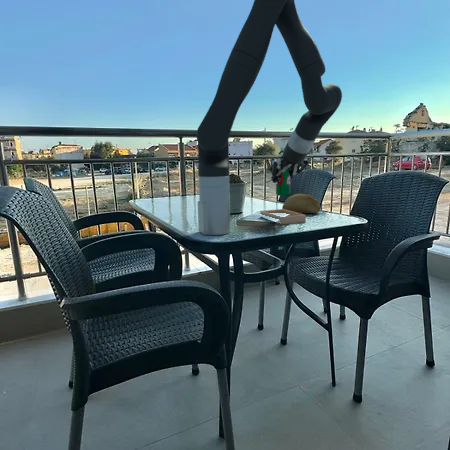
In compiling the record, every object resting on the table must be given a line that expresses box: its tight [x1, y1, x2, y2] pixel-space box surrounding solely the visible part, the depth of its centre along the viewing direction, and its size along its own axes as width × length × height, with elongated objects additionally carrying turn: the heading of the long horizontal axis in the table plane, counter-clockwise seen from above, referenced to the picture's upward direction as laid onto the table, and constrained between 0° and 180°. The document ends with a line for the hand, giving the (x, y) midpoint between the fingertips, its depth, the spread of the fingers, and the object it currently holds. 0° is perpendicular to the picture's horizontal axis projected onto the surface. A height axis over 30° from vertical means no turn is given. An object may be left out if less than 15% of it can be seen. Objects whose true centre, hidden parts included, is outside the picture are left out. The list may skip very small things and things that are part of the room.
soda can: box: [275, 167, 291, 197], centre depth 114 cm, size 5×5×12 cm
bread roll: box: [281, 193, 321, 214], centre depth 128 cm, size 10×15×8 cm, turn 82°
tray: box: [259, 208, 307, 225], centre depth 117 cm, size 10×15×2 cm, turn 21°
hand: (280, 180), depth 116 cm, fingers closed on soda can, 5 cm apart
